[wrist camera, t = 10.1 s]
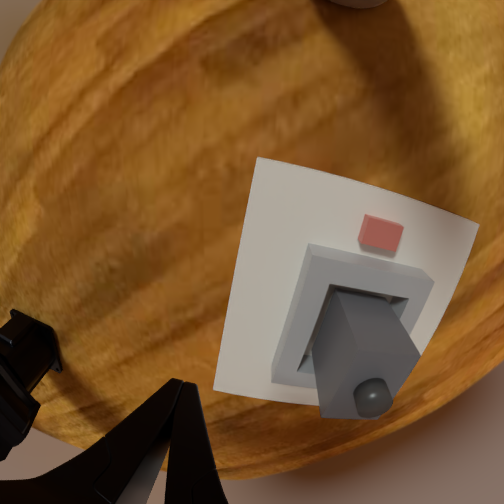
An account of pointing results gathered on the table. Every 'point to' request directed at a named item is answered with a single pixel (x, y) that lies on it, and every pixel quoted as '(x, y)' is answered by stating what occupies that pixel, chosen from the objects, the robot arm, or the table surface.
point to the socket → (328, 272)
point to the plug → (360, 356)
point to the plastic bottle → (359, 3)
